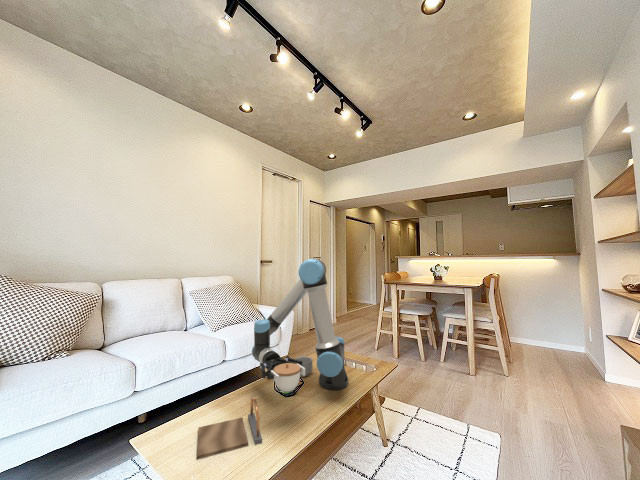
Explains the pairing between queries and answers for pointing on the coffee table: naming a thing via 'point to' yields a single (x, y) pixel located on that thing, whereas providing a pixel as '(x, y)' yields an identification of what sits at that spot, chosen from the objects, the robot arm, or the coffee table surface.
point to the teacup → (306, 364)
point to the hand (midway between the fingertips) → (291, 375)
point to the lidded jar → (287, 376)
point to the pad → (221, 437)
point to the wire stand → (254, 428)
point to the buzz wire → (256, 413)
